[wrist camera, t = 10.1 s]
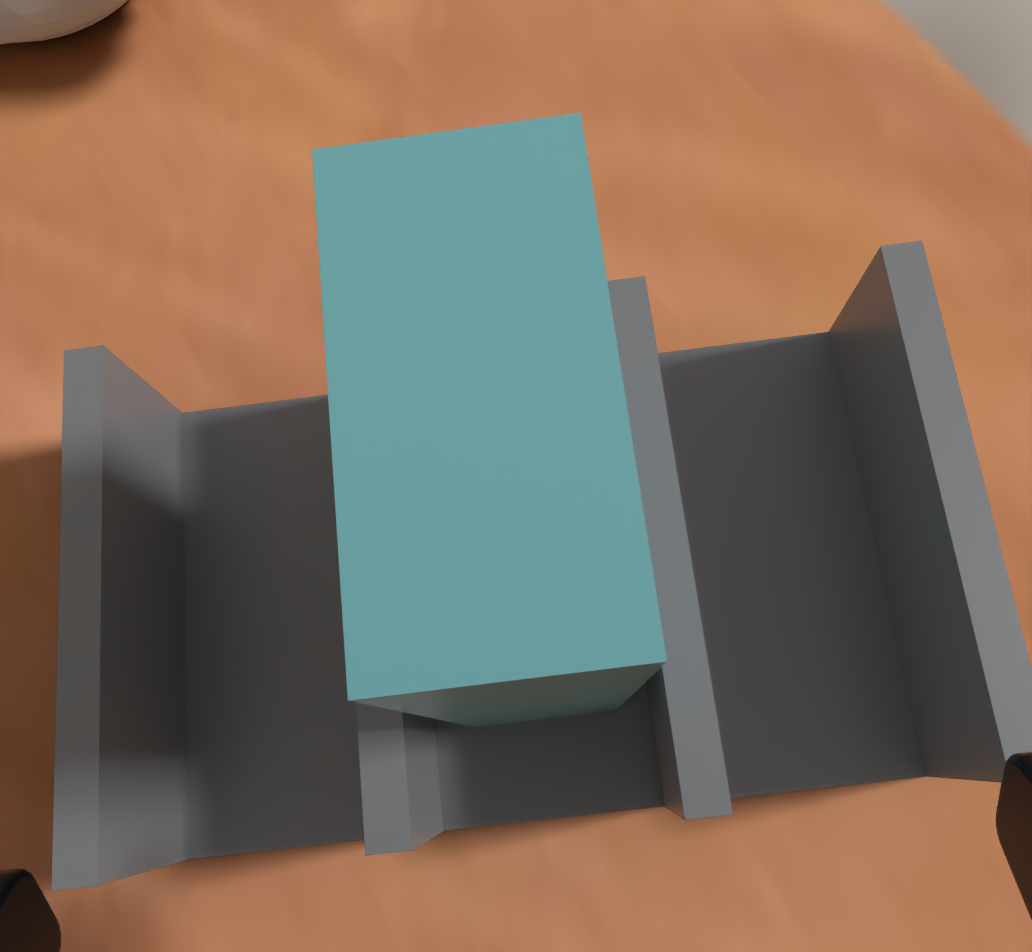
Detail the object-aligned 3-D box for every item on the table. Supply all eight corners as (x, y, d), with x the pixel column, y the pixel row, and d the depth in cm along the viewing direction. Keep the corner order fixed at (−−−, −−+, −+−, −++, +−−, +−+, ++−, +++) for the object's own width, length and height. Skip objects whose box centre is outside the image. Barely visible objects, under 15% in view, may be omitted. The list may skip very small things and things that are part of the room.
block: (615, 710, 20) (666, 661, 9) (476, 727, 20) (348, 700, 9) (578, 444, 22) (580, 111, 11) (449, 460, 22) (312, 149, 11)
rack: (950, 771, 20) (1059, 777, 16) (167, 859, 21) (51, 890, 16) (853, 341, 23) (922, 240, 19) (163, 427, 24) (64, 350, 19)
